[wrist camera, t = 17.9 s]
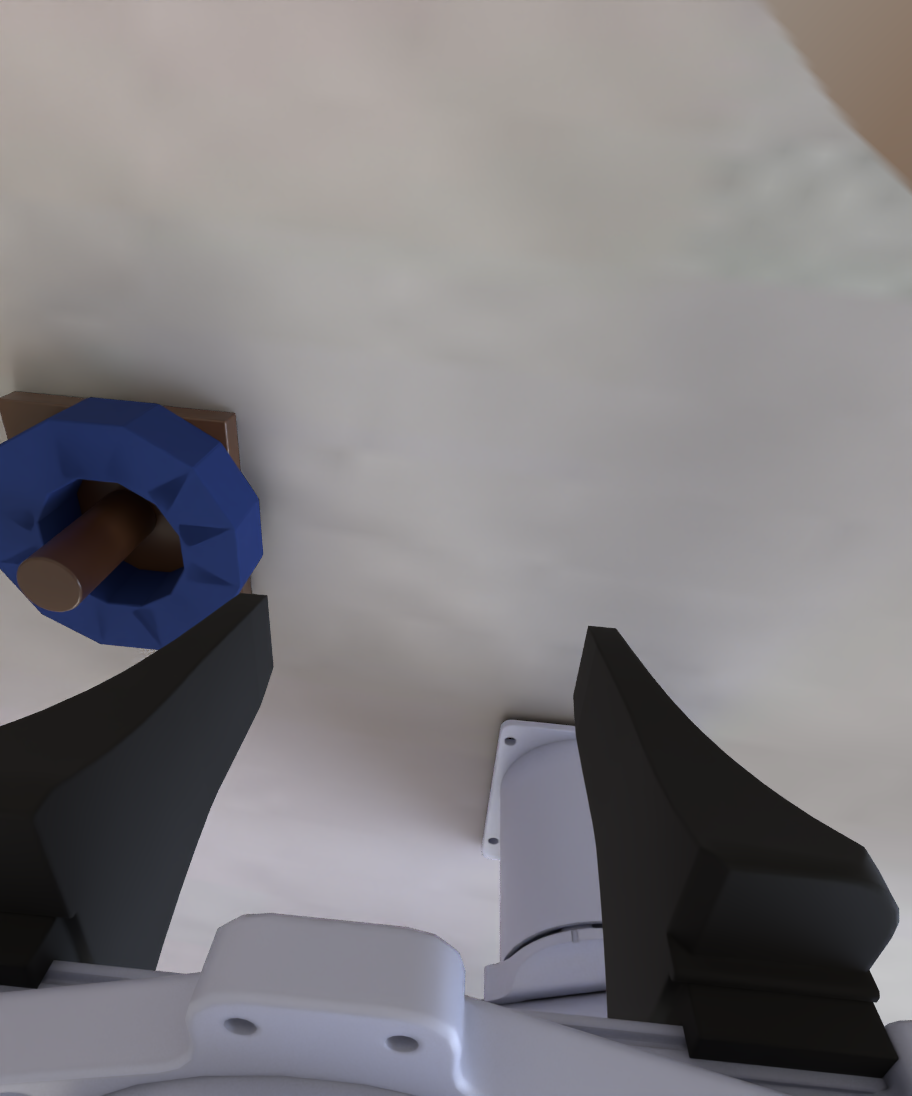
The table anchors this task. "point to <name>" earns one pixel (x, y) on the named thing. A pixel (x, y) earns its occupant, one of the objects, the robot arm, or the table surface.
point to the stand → (102, 516)
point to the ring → (153, 473)
